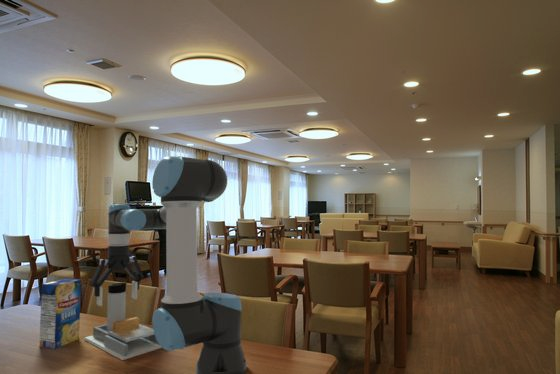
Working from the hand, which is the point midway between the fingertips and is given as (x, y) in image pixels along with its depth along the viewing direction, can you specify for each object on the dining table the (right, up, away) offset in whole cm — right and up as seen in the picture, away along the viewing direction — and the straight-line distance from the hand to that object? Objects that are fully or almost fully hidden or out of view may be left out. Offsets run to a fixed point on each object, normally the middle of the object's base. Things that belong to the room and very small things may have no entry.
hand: (117, 302), depth 144 cm
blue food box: (-19, -14, -4) cm, 24 cm away
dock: (+4, -14, -4) cm, 15 cm away
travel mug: (0, -13, 0) cm, 13 cm away
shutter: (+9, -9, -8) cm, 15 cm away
